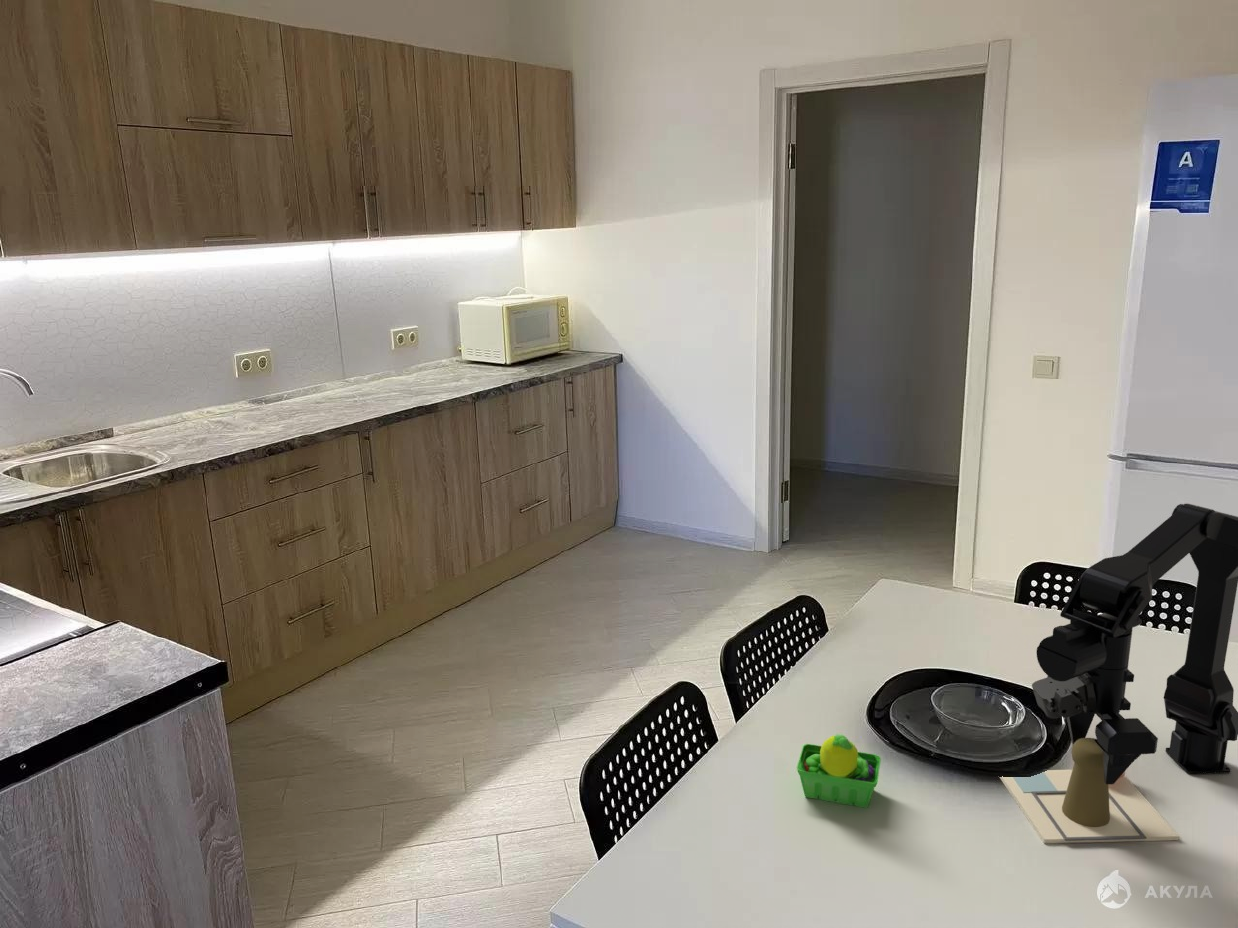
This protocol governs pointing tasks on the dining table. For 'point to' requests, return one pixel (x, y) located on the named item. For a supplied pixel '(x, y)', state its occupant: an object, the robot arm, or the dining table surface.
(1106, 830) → the colouring board
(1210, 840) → the dining table surface
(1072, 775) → the cork
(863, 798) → the fruit basket
